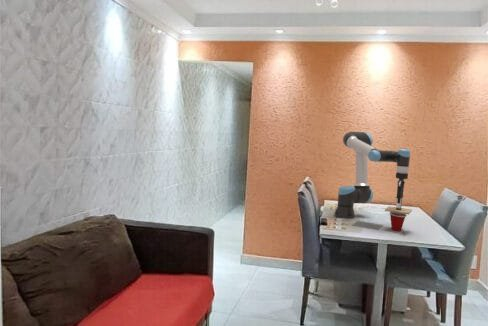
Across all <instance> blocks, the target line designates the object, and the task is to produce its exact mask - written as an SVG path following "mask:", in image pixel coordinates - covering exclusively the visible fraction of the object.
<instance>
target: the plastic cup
mask: <svg viewBox="0 0 488 326" xmlns="http://www.w3.org/2000/svg"><path fill="white" fill-rule="evenodd" d="M407 215H408V214H402V213H395V212H389V216H390V226H391V227H390V228H391V230H392V231H395V232H401V231H402V229H403V226H404V222H405V220H406V217H407Z"/></svg>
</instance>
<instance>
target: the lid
mask: <svg viewBox="0 0 488 326" xmlns="http://www.w3.org/2000/svg"><path fill="white" fill-rule="evenodd" d="M402 204H403V198H402V196H401V205H402ZM384 212H389V213H390V212H395V213H402V214H406V215H410V214H411V213H412V212H413V210H412V209H411V208H404V207H401V208H396V206H391V205H389V206H387V207H386V208H384Z"/></svg>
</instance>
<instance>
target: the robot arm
mask: <svg viewBox="0 0 488 326" xmlns="http://www.w3.org/2000/svg"><path fill="white" fill-rule="evenodd" d="M342 143H343V144H344V146H345V147H347V148H348V149H353V151H354V152H355V184H354V185H343V186H340V187H339V188H338V193H337V207H336V209H335V210H334V214H333V215H334V217H335V216H336V217H335V218H337V217H339V218H338V219H344V220H346V219H348V220H353V219H355V218H356V214H355V213H356V212H355V209H354V204H368V203H370V202H371V201H372V199H373V198H374V191H373V189H372V188H371V186H370V184H369V183H368V181H369V180H368V160H369V161H370V162H375V163H376V162H378V163H381V162H383V163H396V167H395V171H396V172H395V178H396V179H398V180H397V190H396V197H395V198H396V204H395V205H396V206H395V207H396V208H402V205H401V196H402V199H403V198H404V190H405V184H406V181H405V180H407V179H409V168H410V159H411V150H410V149H404V148H398V150H380V149H378V148H375V147H374V146H372V145H373V144H374V143H373V137H372V135H371V134H370V133H368V132H364V131H362V132H361V131H349V132H346V133H345V134H344V135H343V137H342Z"/></svg>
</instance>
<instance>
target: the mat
mask: <svg viewBox="0 0 488 326" xmlns="http://www.w3.org/2000/svg"><path fill="white" fill-rule="evenodd" d="M351 226H352V227H353V226H354V227H358V228H365V229H370V230H377V231H379V230H380V229H381V228H382V227H384V224H380V223H373V222H372V223H371V222H367V221H361V220H357V221H356V222H354V223H353V224H351Z"/></svg>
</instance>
